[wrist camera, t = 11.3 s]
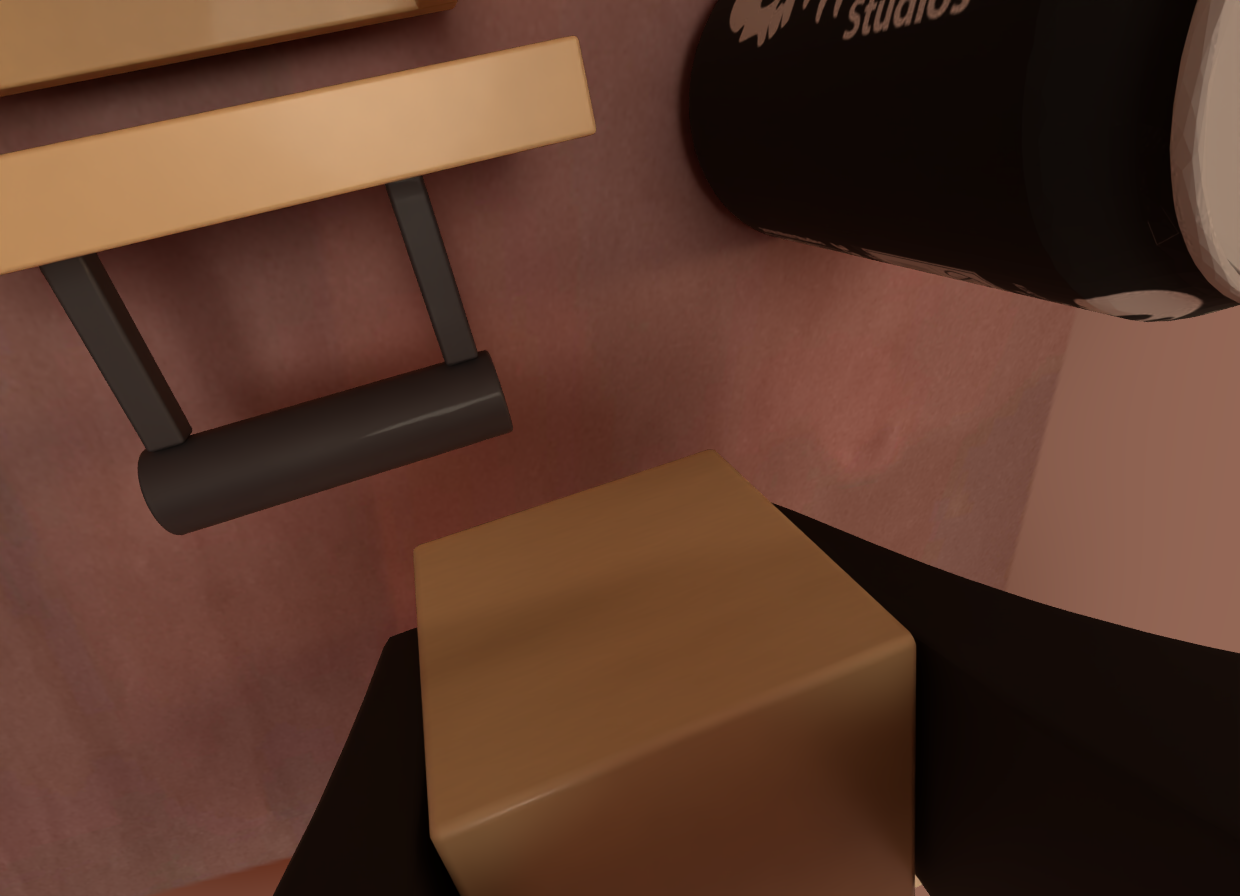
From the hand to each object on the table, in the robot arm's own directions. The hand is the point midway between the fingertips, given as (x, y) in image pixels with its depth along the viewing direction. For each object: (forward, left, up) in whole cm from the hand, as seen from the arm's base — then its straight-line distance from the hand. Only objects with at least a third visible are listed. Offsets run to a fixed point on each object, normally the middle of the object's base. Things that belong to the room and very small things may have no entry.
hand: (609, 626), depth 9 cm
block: (0, 0, 0) cm, 0 cm away
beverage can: (+5, -9, -11) cm, 15 cm away
